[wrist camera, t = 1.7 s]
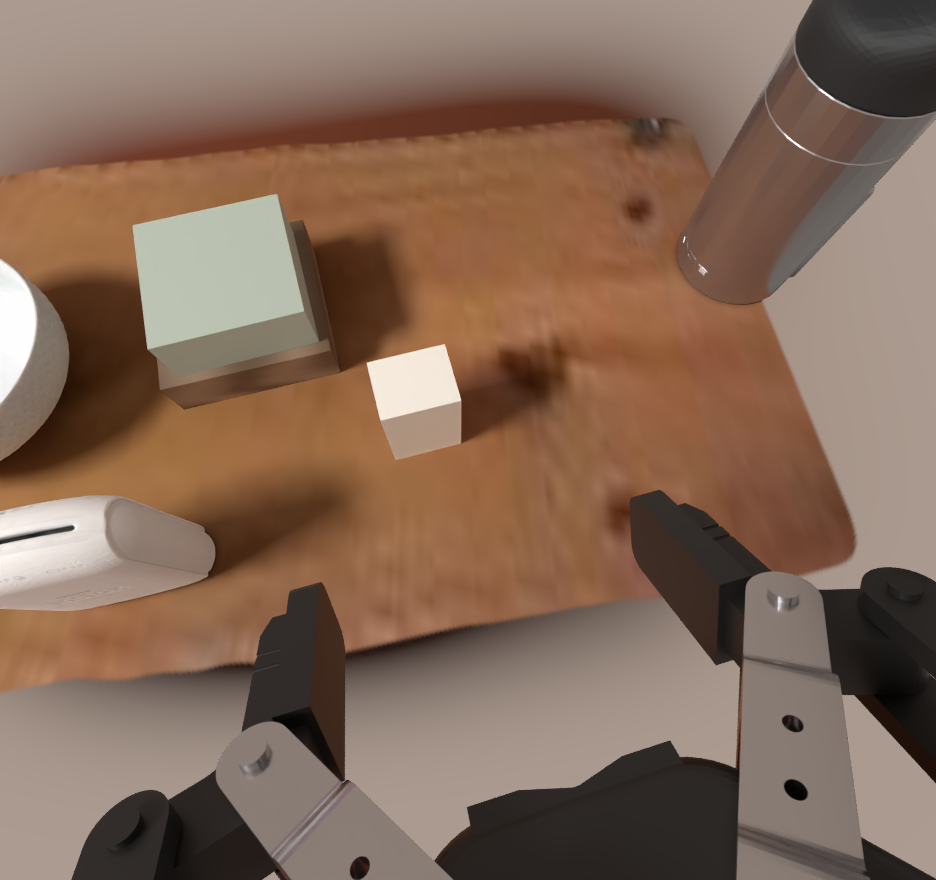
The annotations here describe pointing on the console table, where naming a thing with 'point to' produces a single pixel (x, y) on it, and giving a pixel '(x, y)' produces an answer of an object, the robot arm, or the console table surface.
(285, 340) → the tower top
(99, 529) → the photo printer
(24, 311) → the cereal bowl
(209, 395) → the tower base
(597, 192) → the console table surface
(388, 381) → the cream block
